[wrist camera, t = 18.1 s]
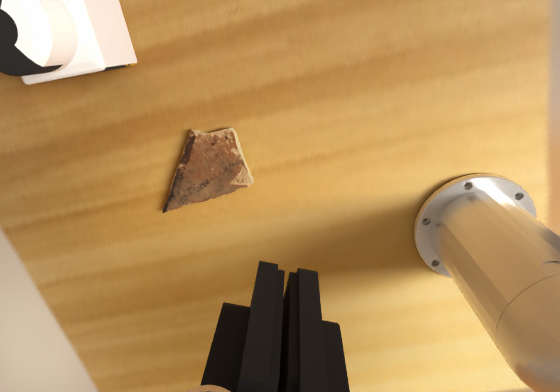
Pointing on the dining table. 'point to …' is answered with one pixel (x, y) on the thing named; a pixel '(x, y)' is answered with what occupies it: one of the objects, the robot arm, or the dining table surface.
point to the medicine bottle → (62, 38)
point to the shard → (208, 169)
